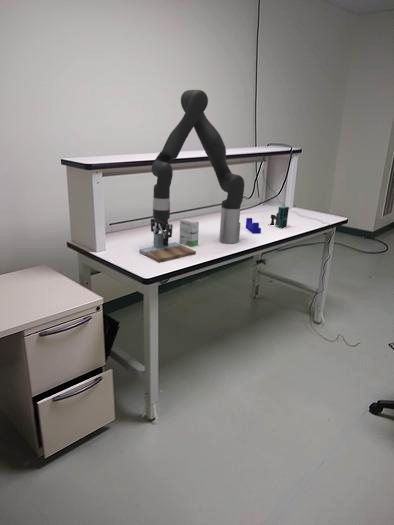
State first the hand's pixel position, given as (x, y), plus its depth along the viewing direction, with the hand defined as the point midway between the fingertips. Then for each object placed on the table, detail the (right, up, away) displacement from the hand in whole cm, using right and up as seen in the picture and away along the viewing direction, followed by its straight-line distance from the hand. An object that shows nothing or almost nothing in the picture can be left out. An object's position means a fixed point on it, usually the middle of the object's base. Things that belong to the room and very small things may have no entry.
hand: (161, 243), depth 182 cm
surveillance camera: (+63, +13, +53) cm, 83 cm away
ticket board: (+5, -5, -5) cm, 9 cm away
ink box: (+12, 0, +12) cm, 17 cm away
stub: (0, -3, +1) cm, 3 cm away
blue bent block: (+47, +9, +41) cm, 63 cm away
